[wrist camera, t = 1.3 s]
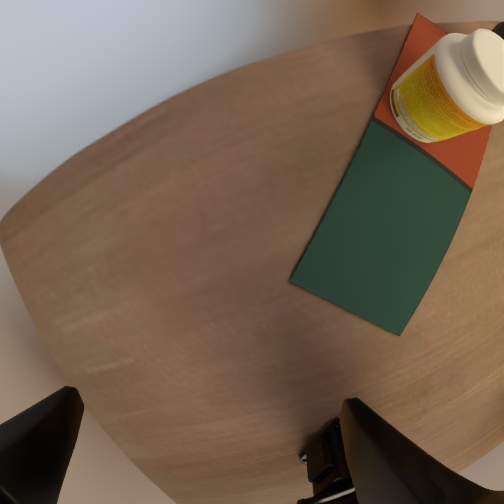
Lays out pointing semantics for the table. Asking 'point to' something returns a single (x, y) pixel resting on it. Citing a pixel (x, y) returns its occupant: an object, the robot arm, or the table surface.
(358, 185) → the sorting mat
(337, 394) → the table surface
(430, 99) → the supplement bottle
